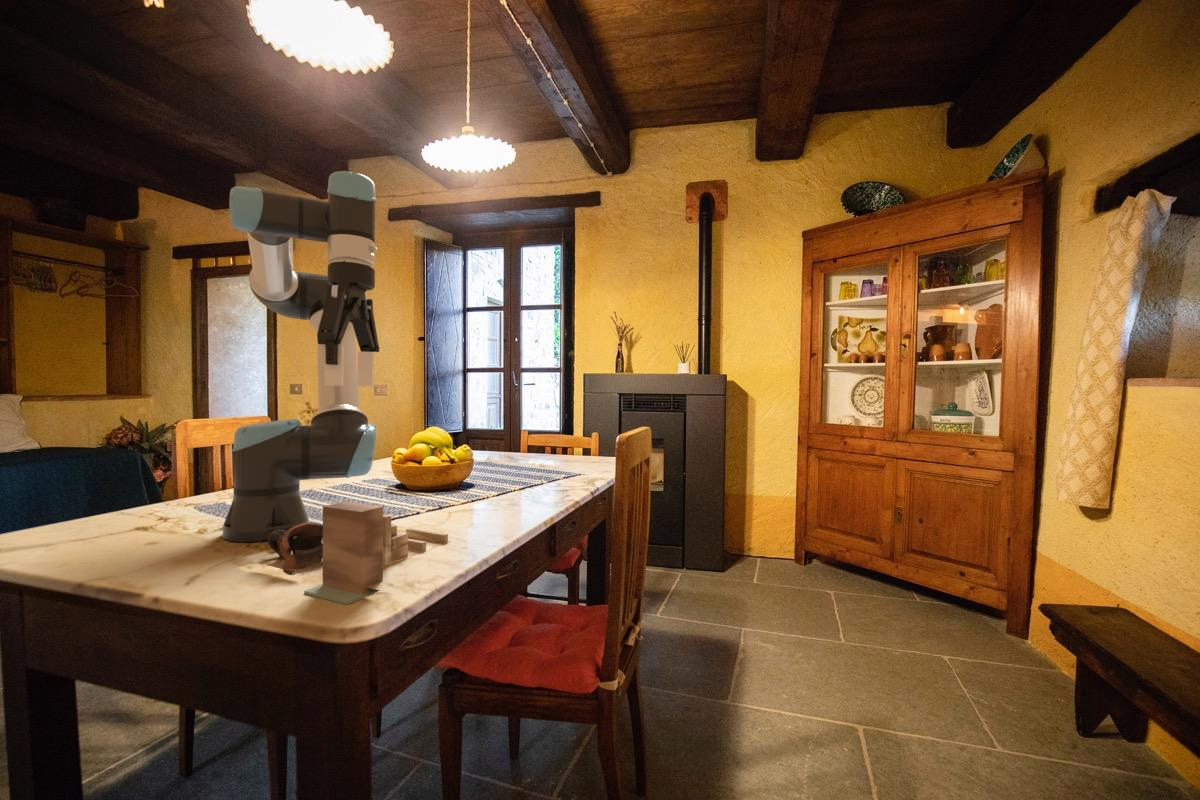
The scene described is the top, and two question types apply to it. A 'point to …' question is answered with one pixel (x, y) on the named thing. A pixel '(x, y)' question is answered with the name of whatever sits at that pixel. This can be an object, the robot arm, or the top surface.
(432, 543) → the rack
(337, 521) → the brown rectangular block
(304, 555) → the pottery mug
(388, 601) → the top surface
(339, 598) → the felt mat
